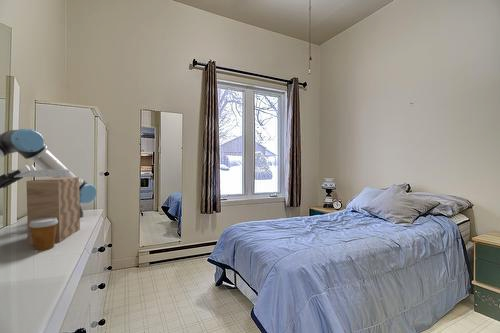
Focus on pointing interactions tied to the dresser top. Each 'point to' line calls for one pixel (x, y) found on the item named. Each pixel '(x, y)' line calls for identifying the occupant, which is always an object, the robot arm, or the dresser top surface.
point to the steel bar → (44, 173)
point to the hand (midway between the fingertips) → (31, 167)
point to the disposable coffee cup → (43, 233)
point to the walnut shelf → (54, 204)
